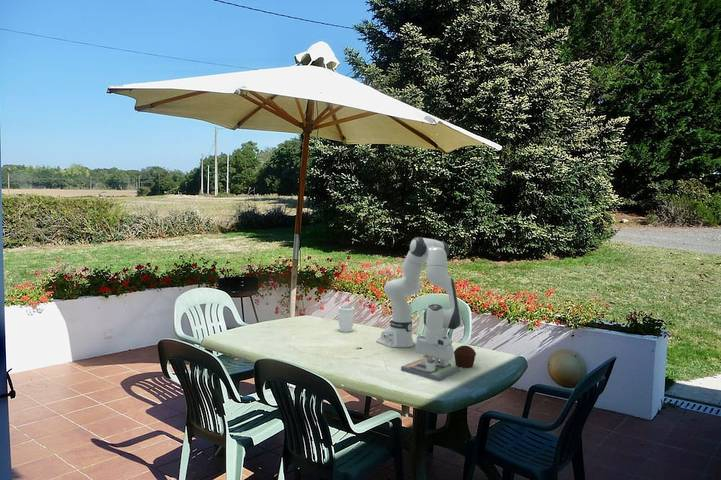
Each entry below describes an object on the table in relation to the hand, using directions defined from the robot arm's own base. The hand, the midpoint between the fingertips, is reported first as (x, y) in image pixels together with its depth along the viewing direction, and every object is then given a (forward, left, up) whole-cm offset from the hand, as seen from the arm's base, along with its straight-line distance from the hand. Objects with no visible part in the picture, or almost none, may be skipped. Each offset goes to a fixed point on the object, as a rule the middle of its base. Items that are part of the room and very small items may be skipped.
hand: (433, 365), depth 259 cm
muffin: (+6, +19, -3) cm, 21 cm away
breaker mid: (-4, 0, -1) cm, 4 cm away
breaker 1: (+2, -6, 0) cm, 7 cm away
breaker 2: (+2, +6, 0) cm, 6 cm away
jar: (-86, +27, -3) cm, 90 cm away
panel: (-2, 0, -3) cm, 3 cm away
